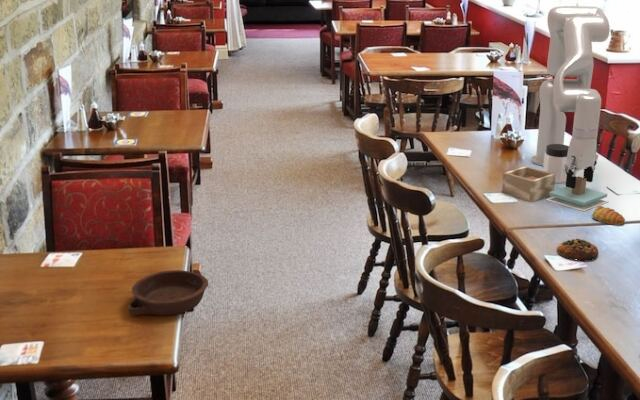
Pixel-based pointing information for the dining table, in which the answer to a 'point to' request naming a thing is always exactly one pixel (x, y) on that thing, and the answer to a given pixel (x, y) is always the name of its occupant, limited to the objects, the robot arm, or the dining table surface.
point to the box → (528, 183)
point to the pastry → (608, 216)
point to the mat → (584, 208)
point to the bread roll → (578, 249)
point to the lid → (578, 194)
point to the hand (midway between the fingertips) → (579, 184)
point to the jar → (556, 161)
